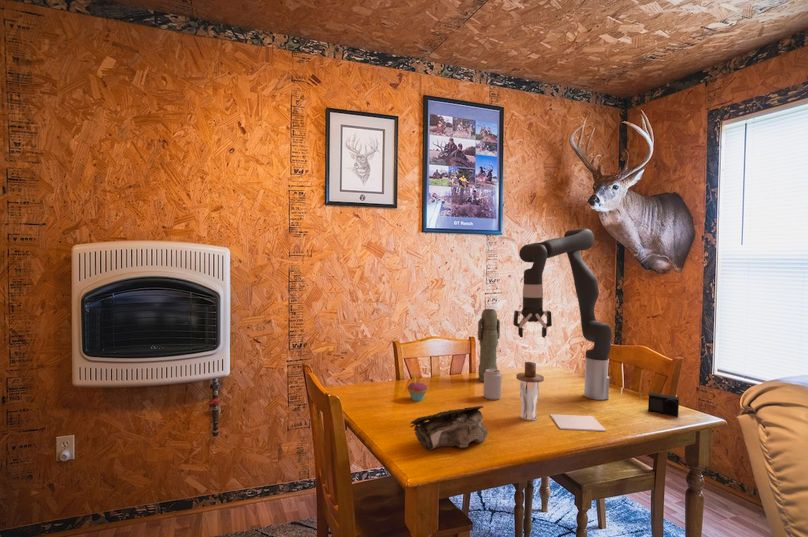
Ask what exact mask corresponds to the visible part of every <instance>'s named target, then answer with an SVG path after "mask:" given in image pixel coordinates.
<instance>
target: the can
mask: <svg viewBox="0 0 808 537" xmlns="http://www.w3.org/2000/svg"><path fill="white" fill-rule="evenodd" d="M502 377H503V374H502V373H501V370H500V369H498V368H497V369H487V370H486V372H485V373H484V382H483V393H482V394H483V397H484V398H485V399H487V400H491V401H496V400H500V398H502V384H503V383H502V379H503V378H502Z"/></svg>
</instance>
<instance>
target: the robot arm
mask: <svg viewBox="0 0 808 537" xmlns="http://www.w3.org/2000/svg"><path fill="white" fill-rule="evenodd" d="M594 243H595V236H594V233H593V231H592V230H591V229H589V228H577V229H569V230H567V231H565V233H564V235H563V236H562V237H556V238H555V237H554V238H550V239H547V240H546V239H545V240H543V241H541V242H534V243H528V244H527V243H526V244H524V245H523V246H521V248H520V249H519V259H521V260H522V261H523V262H525V263H532V264H531V265H532V266H531V268H527V269H524V271H523V286H522V309H521V310H517V309H515V310H514V312H513V326H515V327H517V328H518V329H517V330H518V331H517V332H518V334H517V335H518V336H519V337H520V338H523V334H524V328H523V327H524V325H525V324H526V323H528V322H529V323H533V322H534V323H537V322H538V323H539V324H540V325H541V326H542V327H541V337H542V339H543V338H546V336H547V330H548V328H550V327H552V325H553V324H552V312H551V311H550V310H543V306H544V304H543V303H544V301H543V300H544V288H543V274H544V270H545V266H546V262H547V260H548V259H550V258H553V257H557V256H559V255H562V254H566V255H567V258H568V261H569V264H570V268H571V269H570V270H571V272H572V278H573V283H574V289H575V292H576V297H577V302H578V309H579V315H580V326H581V332H582V336H583V338H584V339H585V340H586V341H588V342H591V343H593V348H591V349H587V350H586V351H585V359H584V362H585V364H584V389H583V390H584V391H583V393H584V394H583V395H584V397H585V398H588V399H591V400H595V401H597V400H598V401H605V400H609V397H610V395H609V394H610V377H609V376H608V375H609V374H608V373H609V369H608V368H609V356H610V353H611V347H612V338H613V336H612V334H613V333H612V328H611V325H609V324H608V323H605V322H601V321H597V318H596V316H595V307H596V303H597V301H598V298H599V296H600V295H599V294H600V292H599V291H600V289H599V285H598V279H597V276H596V275H595V274H594V273H593V271H592V270H591V269H590V268H589V266H588V265H587V264H586V262H584V259H583V257H582V255H581V252H580V251H586V250H589V249H592V247H593V245H594ZM521 315H522V319H521V320H520V321H519V317H520V316H521ZM543 316H544V317H546V322H544V320H543V319H542V317H543Z"/></svg>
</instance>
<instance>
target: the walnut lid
mask: <svg viewBox="0 0 808 537" xmlns="http://www.w3.org/2000/svg"><path fill="white" fill-rule="evenodd" d="M536 366H537V363H536V362H534V361H524V372H519V373H516V379H517V380H518V381H520V382H521V381H525V382H534V383H536V382H539V383H542V382H544V381H545V377H544V376H543V375H541V374H538V373H536V372H537V367H536Z"/></svg>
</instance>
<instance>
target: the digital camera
mask: <svg viewBox="0 0 808 537" xmlns="http://www.w3.org/2000/svg"><path fill="white" fill-rule="evenodd" d="M647 403H648V406H647V408H648V409H647V412H648V413H654V414H657V415H664V416H668V417H669V416H670V417H676V418H679V410H680V409H679V408H680V407H679V406H680V396H678V397H677V396H673V395H668V394H662V393H661V394H660V393H655V392H649V393H648V402H647Z"/></svg>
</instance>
